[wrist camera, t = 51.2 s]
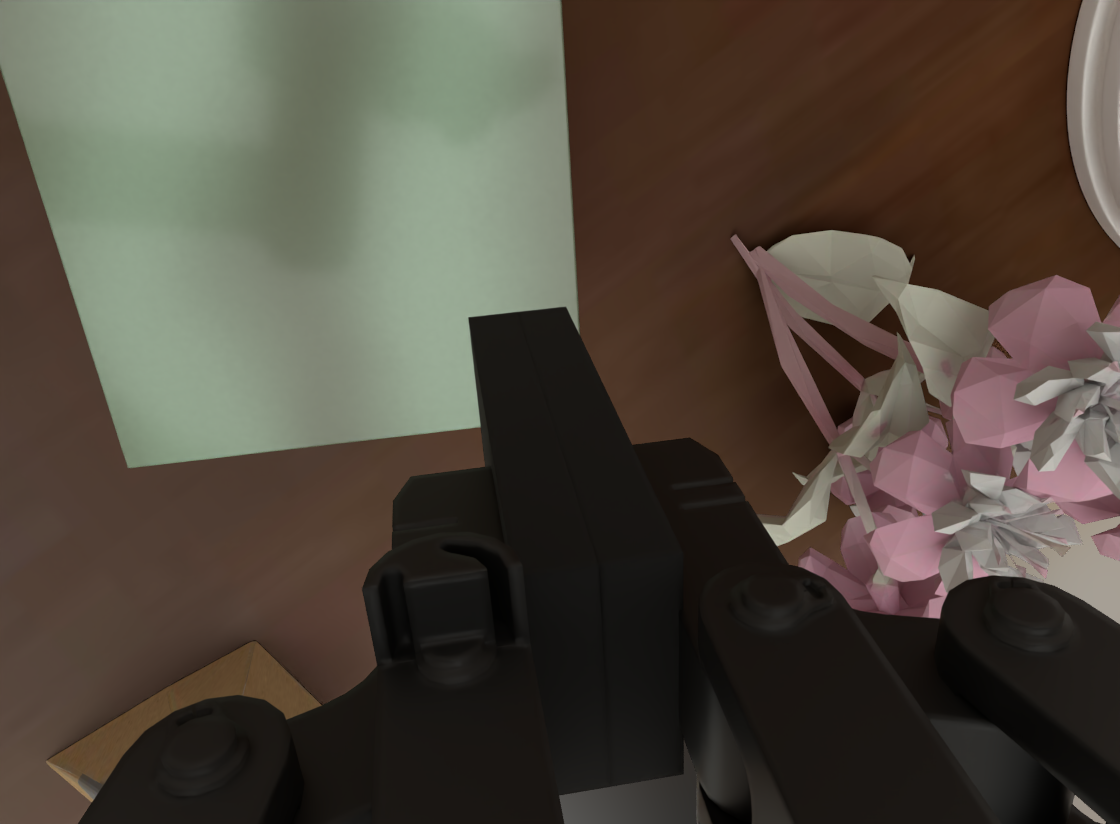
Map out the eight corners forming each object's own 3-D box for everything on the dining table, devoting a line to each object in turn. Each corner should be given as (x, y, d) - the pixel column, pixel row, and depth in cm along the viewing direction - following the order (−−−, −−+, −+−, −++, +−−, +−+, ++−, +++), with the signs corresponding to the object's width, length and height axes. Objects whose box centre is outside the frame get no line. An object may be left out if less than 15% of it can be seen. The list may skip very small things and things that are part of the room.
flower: (541, 512, 49) (896, 923, 33) (658, 96, 38) (1280, 401, 22) (785, 460, 61) (1139, 746, 44) (929, 129, 50) (1471, 346, 33)
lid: (550, -134, 25) (554, -136, 24) (581, 405, 33) (584, 415, 32) (-41, -99, 24) (-55, -101, 23) (134, 457, 31) (127, 469, 30)
